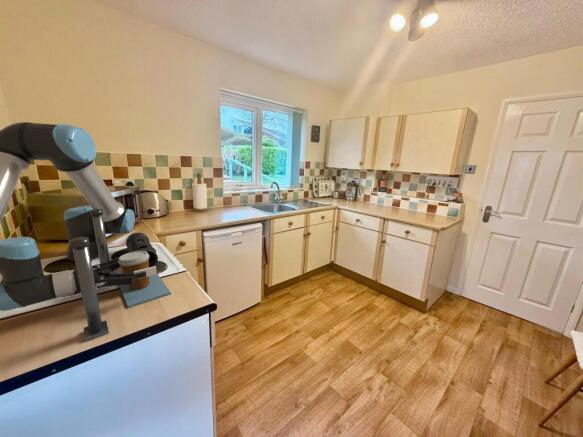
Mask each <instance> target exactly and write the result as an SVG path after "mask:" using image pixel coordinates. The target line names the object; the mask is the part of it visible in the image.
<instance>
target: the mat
mask: <svg viewBox="0 0 583 437" xmlns="http://www.w3.org/2000/svg"><path fill="white" fill-rule="evenodd" d="M149 281H150V283H149V284H148V285H147V286H146V287H144V288H141V289H135V290H133V289H130V287H129V285H119V288H120V291H121V294H122V297H123V298H124V301H125V304H126V306H127V309H130V308H133V307H137V306H140V305H143V304H145V303H148V302H151V301H154V300H157V299H161V298H163V297H167V296H169V295H170V296H171V294H172V292H171V290H170V289H169V287H168V286H167V284H165V282H164V281H163V279H162V278H161V277H160V275H159V274H158V273H157V274H155V275H151V276H149Z"/></svg>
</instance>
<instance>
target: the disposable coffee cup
mask: <svg viewBox="0 0 583 437" xmlns="http://www.w3.org/2000/svg"><path fill="white" fill-rule="evenodd" d="M119 257H120V256H119ZM148 259H149V254H148V253H147V252H146V251H134V252H127V253H125V254H122V255H121V257H120V258H119V261H118V263H119V264H120V265H121V267H120V268H121V270H122V273H134V271H138V270H142V269H146V268H149V260H148ZM128 282H129V281H128ZM149 283H150V281H149V276H147V277H143V278H140V279H136V280H135V283H134V284H129V287H130V289H133V290H135V289H141V288H144V287H146V286H147V285H148V284H149Z"/></svg>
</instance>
